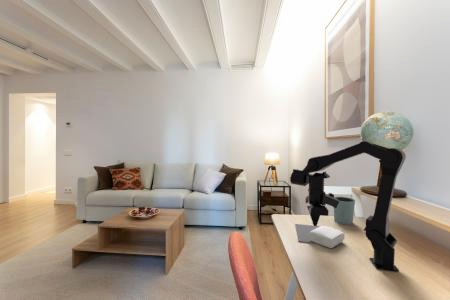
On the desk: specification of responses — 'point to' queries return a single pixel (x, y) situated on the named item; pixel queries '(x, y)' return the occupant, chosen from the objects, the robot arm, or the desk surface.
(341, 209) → the grey-blue cup
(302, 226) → the mat
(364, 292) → the desk surface
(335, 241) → the photo printer
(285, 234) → the desk surface
